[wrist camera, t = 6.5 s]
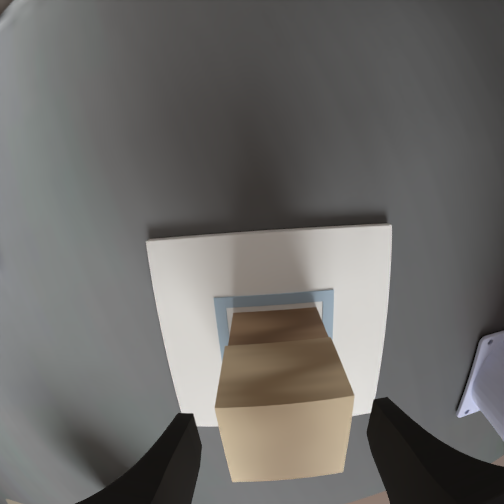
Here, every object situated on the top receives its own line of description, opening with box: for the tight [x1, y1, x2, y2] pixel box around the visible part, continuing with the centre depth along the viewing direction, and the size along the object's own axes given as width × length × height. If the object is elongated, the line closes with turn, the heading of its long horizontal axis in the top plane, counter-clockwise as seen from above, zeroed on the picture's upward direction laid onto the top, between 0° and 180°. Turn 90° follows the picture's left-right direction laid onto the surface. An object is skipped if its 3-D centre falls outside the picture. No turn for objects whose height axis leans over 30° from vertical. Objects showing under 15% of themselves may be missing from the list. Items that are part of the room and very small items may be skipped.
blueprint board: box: [146, 223, 392, 426], centre depth 18 cm, size 13×13×1 cm
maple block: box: [215, 337, 355, 482], centre depth 12 cm, size 4×4×4 cm
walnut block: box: [228, 307, 328, 346], centre depth 16 cm, size 4×4×4 cm
